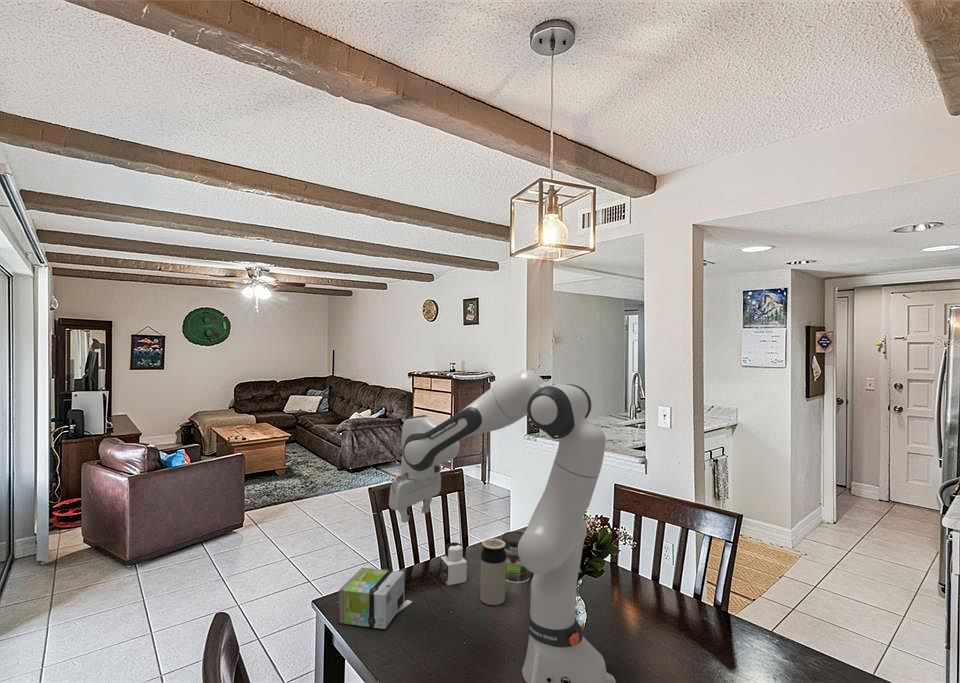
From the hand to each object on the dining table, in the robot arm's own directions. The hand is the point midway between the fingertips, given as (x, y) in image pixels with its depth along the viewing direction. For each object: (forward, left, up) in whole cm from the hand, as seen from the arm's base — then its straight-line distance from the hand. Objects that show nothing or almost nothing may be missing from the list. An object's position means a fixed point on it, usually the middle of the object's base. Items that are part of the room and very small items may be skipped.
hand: (415, 517), depth 144 cm
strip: (+7, +1, -30) cm, 31 cm away
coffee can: (-13, -41, -30) cm, 52 cm away
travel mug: (-14, -23, -30) cm, 40 cm away
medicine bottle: (+4, -27, -30) cm, 40 cm away
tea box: (+5, +2, -24) cm, 25 cm away
